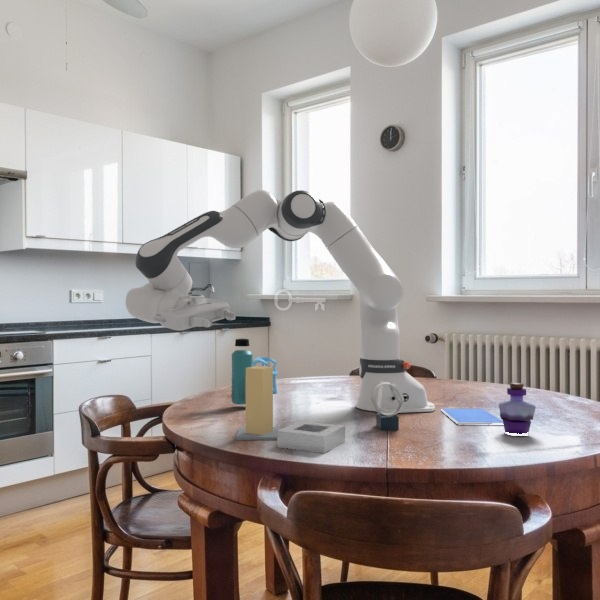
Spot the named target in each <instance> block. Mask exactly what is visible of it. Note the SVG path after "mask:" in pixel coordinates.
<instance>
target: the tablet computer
mask: <svg viewBox="0 0 600 600" xmlns="http://www.w3.org/2000/svg"><path fill="white" fill-rule="evenodd" d="M440 410H441V411H442V412H443V413H444V415H445V416H446V415H447V416H448V417H449V418H448V417H447V416H446V417H447V418H448V419H449V420H451V421H452V422H453V423H454V422H455V423H456V424H461V425H462V424H492V423H503V420H502V419H501V418H499V417H497V416H495V415H494V414H492V413H491V412H489V411H488V410H485V409H484V408H441V409H440ZM441 411H440V412H441ZM442 412H441V413H442ZM443 413H442V414H443ZM500 419H501V420H500ZM455 423H454V424H455ZM456 424H455V425H456Z"/></svg>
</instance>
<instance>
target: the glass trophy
mask: <svg viewBox="0 0 600 600" xmlns="http://www.w3.org/2000/svg"><path fill="white" fill-rule="evenodd" d="M384 385H389V386H390V390H391V392H392V394H393V396H394V397H395V399H396V400H397V401H398V403H399V406H398V408H397V409H396V410H395V411H393V412H391V413H383V412H381V409H380V408H379V407H378V405H377V403H376V400H375V396H374V394H375V392H376V390H377V389H378V388H380V387H381V386H384ZM371 401H372V403H373V406H374V407H375V409H376V410H377V412H376V413H375V419H376V420H375V427H377V428H378V429H379V431H381V432H382V431H399V429H400V423H399V419H400V417H399V416H398V415H397V414H399V411H400V410H401V409H402V407H403V401H404V397H403V395H402V393H401V392H400V390H399V389H398V387H397V386H396V385H395V384H393V385H392V384H391V383H388V382H383V383H380V384H378V385H377V386H375V387H374V389H373V391H372V393H371Z"/></svg>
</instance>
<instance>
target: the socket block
mask: <svg viewBox="0 0 600 600" xmlns="http://www.w3.org/2000/svg"><path fill="white" fill-rule="evenodd" d="M276 441H277V443H276V444H277V445H276V446H277V448H281V449H287V448H288V450H295V449H296V450H295V451H302V450H303V451H304V452H311V453H317V454H318V453H319V454H326V453H328V452H330V451H331V450H333V449H335V448H336V447H338V446H340V445H342V444H343V443H345V442H346V425H342V424H334V423H333V424H331V423H330V424H329V423H325V422H323V423H322V422H315V421H314V422H313V421H305V420H304V421H303V420H300V421H297V422H294V423H293V424H290V425H288V426H285V427H283V428H281V429H280V430H278V431H277V440H276Z"/></svg>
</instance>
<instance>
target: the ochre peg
mask: <svg viewBox="0 0 600 600" xmlns="http://www.w3.org/2000/svg"><path fill="white" fill-rule="evenodd" d="M273 367H274V366H268V367H266V365H264V366H262V365H256V366H253V367H248V368H246V404H245V427H246V433H251V434H258V435H264V434H267V433H269V432H271V431H273V427H274V393H273Z"/></svg>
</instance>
